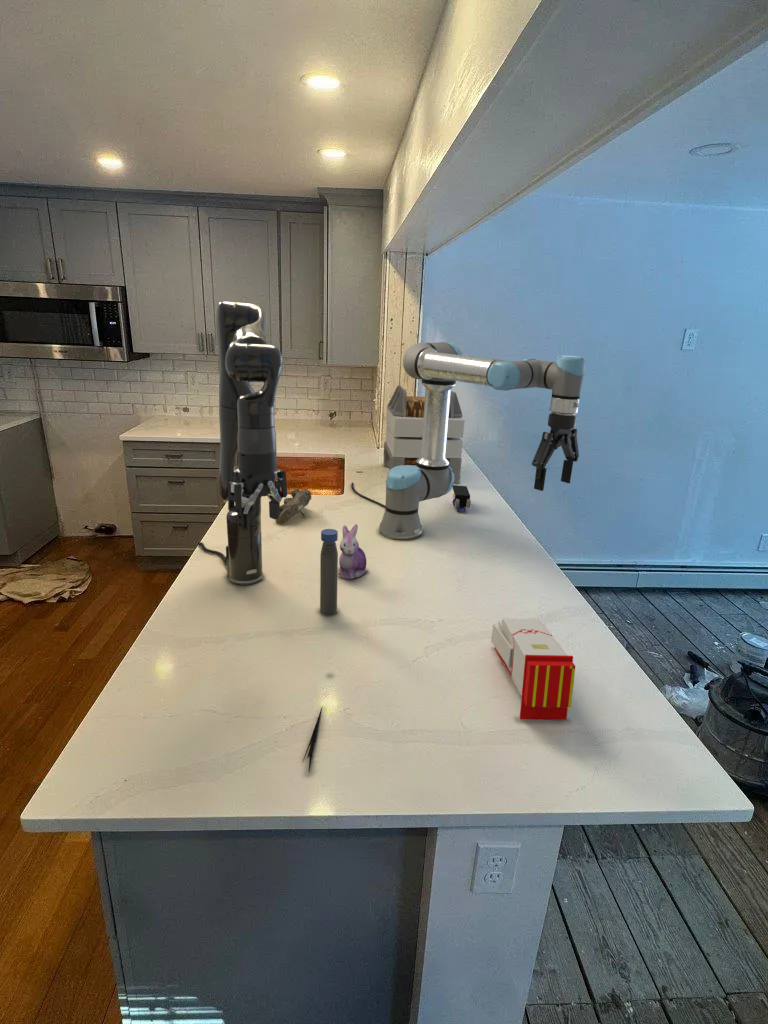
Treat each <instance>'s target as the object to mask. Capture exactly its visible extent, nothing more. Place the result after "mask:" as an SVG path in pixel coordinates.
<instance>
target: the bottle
mask: <svg viewBox="0 0 768 1024" xmlns="http://www.w3.org/2000/svg"><path fill="white" fill-rule="evenodd" d="M319 555H320V557H319V558H320V563H319V564H320V568H319V569H320V570H319V571H320V575H319V582H320V583H319V584H320V586H319V590H320V592H319V612H320V614H321V615H326V616H332V615H335V614H336V613H337V612H338V573H339V551H338V548H337V543H336V541H335V542H331V543H328V542H323V541H322V544H321V550H320V554H319Z"/></svg>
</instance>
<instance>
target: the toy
mask: <svg viewBox="0 0 768 1024" xmlns="http://www.w3.org/2000/svg"><path fill="white" fill-rule="evenodd" d="M490 638H491V639H490V642H491V644H492V646H493V647H494V650H495V652H496V654H497V655H498V657H499V659H500V660H501V662H502V664H503V666H504V667H505V669H506V671H507V672H508V674H509V676H510V677H511V679H512V681H513V683H514V685H515V688H516V690H517V691H518V693H519V695H520V697H521V698H520V710H519V719H520V720H534V721H535V720H539V721H567V716H568V708H572V701H573V692H574V684H575V674H576V673H575V672H576V665H575V663H574V656H573V655H568V654H567V653H566V652H565V650H564V649H563V648H562V646H561V645H560V644H559V643H558V641H557V640H556V639H555V637H554V636H553V634H552V633H551V632H550V631H549V629H548V628H547V626H546V624H545V623H543V621H542V620H541V619H540V618H505V617H503V618H501V620H498V622H497V624H495V623H493V624H492V632H491V637H490Z"/></svg>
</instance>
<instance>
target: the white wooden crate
mask: <svg viewBox="0 0 768 1024" xmlns="http://www.w3.org/2000/svg"><path fill="white" fill-rule="evenodd" d="M407 394H408V393H407V390H406V389H404V388H403V387H402V385H399V384H398V385H397V386H396V388H395V390H394V392H393V394H392V395H391V398H390V400H389V402H388V404H387V405H386V413H385V414H386V415H385V423H386V428H385V438H384V442H383V466H384V467H388V468H389V470H390V469H392V468H394V467H396V466H401V465H404V466H405V465H413V466H416V461H417V459H418V458H420V457H421V449H422V434H423V419H424V404H425V396H415V395H414V396H413V395H412V396H411V395H407ZM464 429H465V419H464V418H463V411H462V408H461V405H460V402H459V398H458V395H457V392H455V391H453V390H451V392H450V404H449V416H448V428H447V441H446V453H445V458H446V459H447V461H448V462H449V466H450V467H451V469H452V473H454V484H455V483H456V484H459V483H461V472H462V461H463V460H462V453H463V442H464V441H463V440H462V439H463V438H464V431H465V430H464Z"/></svg>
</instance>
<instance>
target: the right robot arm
mask: <svg viewBox="0 0 768 1024" xmlns="http://www.w3.org/2000/svg"><path fill="white" fill-rule="evenodd" d="M585 365H586V360H585V358H584V357H582V356H578V355H566V354H565V355H564V354H563V355H558V356H557V357H556V360H555V361H549V360H541V359H536V358H524V359H521V360H506V359H505V360H504V359H503V360H502V359H496V358H487V357H479V356H471V355H464V354H463V352H462V350H461V349H460V347H459V346H457V345H456V344H455V343H451V342H445V341H443V342H442V341H441V342H440V341H439V342H438V341H437V342H417V343H414V344H412V345H411V346H409V347H408V348H407V350H406V351H405V353H404V355H403V358H402V366H403V369H404V372H405V373H406V374H407V375H408V376H409V377H411V378H412V379H415V380H421V385H422V386H423V387H424V389H425V392H424V397H425V404H424V419H423V434H422V449H421V457H420V458H418V459H417V461H416V466H413V465H401V466H396V467H394V468H392V469H390V468H389V470H388V472H387V474H386V479H385V504H383V503H381V502H379V501H376V500H374V499H372V498H370V497H368V496H365V495H363V494H361V493H360V492H358V491H357V490H356V489H355V488H354V482H353V481H352V482H351V489H352V492H353V493H355V494H356V495H358V496H359V497H361V498H364V499H365V500H367V501H370V502H372V503H374V504H376V505H379V506H380V507H383V508H385V509H384V513H383V515H382V519H381V522H379V526H378V533H379V534H380V535H381V536H382V537H385V538H387V539H389V540H395V541H410V540H415V539H418V538H420V537H421V536H422V535H423V525H422V524H421V518H420V515H419V507H420V506H419V505H420V502H423V501H427V500H431V499H437V498H440V497H443V496H446V495H448V493H450V492H451V490H453V485H455V483H454V473H452V469H451V467H450V466H449V462H448V461H447V459H446V458H445V453H446V441H447V428H448V416H449V404H450V392H451V391H452V389H453V388H454V387H455V386H456V384H457V382H461V383H465V384H473V385H479V386H487V387H491V388H492V389H494V390H496V391H503V392H504V391H511V390H520V389H532V388H533V389H534V388H539V389H546V390H551V398H550V404H549V413H548V418H547V419H548V420H547V426H548V427H549V428H550V431H549V432H548V431H543V432H542V435H541V440H540V442H539V445H538V447H537V449H536V452H535V454H534V457H533V460H532V461H531V466H533V467H535V475H534V477H535V478H534V485H533V489H534V490H537V491H539V492H543V491H544V489H545V484H546V483H545V482H546V476H547V468H546V466H547V465H548V463H549V461H550V459H551V457H552V456H553V454H554V453H555V451H556V450H557V449H558V448H560V447H561V449H562V452H563V455H564V458H565V459H563V463H562V468H561V469H562V470H561V475H560V482H562V483H566V484H571V478H572V472H573V466H574V463H576V462H578V461H579V457H580V453H579V444H578V428H576V423H577V419H578V416H577V414H578V412H579V411H578V410H579V406H580V397H581V391H582V385H583V380H584V376H585Z"/></svg>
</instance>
